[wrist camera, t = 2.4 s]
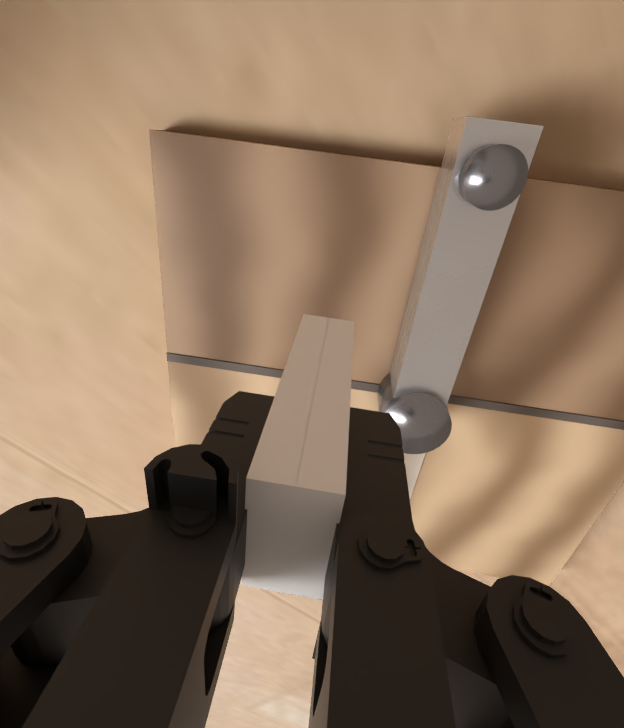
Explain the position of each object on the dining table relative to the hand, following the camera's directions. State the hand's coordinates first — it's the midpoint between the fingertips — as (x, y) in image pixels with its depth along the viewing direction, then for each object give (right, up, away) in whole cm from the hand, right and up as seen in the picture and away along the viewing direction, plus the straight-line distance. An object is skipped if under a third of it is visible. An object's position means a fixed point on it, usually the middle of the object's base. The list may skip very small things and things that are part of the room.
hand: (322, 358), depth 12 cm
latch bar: (+7, +4, +10) cm, 13 cm away
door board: (+6, -3, +16) cm, 17 cm away
